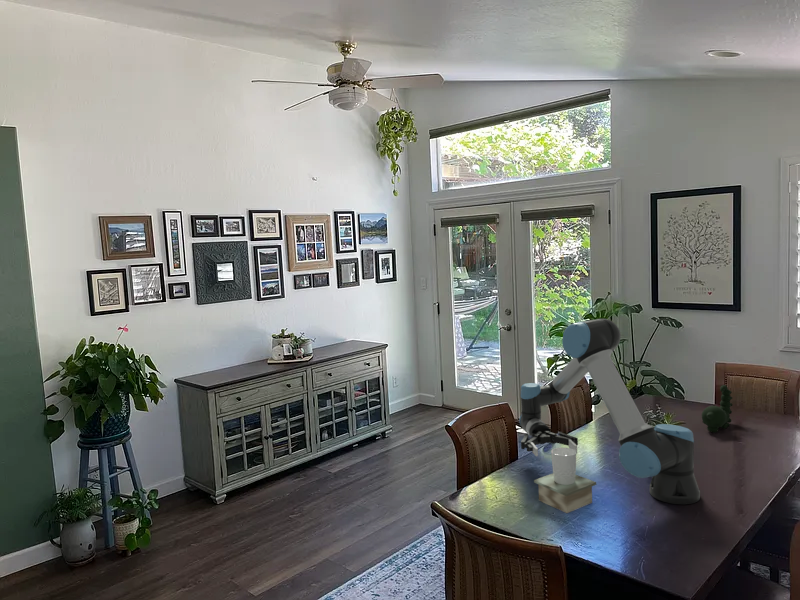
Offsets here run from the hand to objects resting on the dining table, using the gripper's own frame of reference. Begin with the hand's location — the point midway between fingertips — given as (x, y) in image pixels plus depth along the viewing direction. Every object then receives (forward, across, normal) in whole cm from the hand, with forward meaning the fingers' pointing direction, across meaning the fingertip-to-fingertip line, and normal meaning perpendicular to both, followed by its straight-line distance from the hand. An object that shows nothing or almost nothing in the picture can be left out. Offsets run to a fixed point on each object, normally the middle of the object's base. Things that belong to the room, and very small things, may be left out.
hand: (556, 451), depth 199 cm
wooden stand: (+7, 0, -15) cm, 16 cm away
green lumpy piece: (-52, -88, -15) cm, 104 cm away
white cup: (+7, 0, -8) cm, 11 cm away
